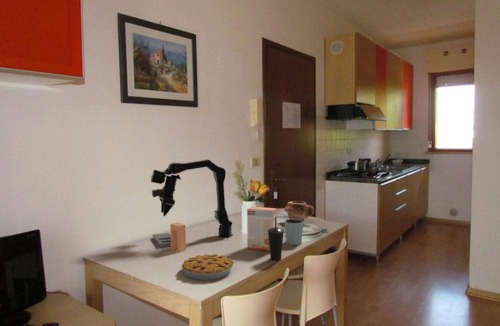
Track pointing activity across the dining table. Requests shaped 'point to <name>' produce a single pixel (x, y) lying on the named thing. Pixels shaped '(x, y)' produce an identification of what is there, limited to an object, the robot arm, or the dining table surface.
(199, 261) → the pie
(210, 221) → the dining table surface
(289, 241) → the blue gray cylindrical container
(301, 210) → the brown teapot
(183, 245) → the clip
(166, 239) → the gray slotted base
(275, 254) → the drinking cup
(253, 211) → the cracker box
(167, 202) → the robot arm
